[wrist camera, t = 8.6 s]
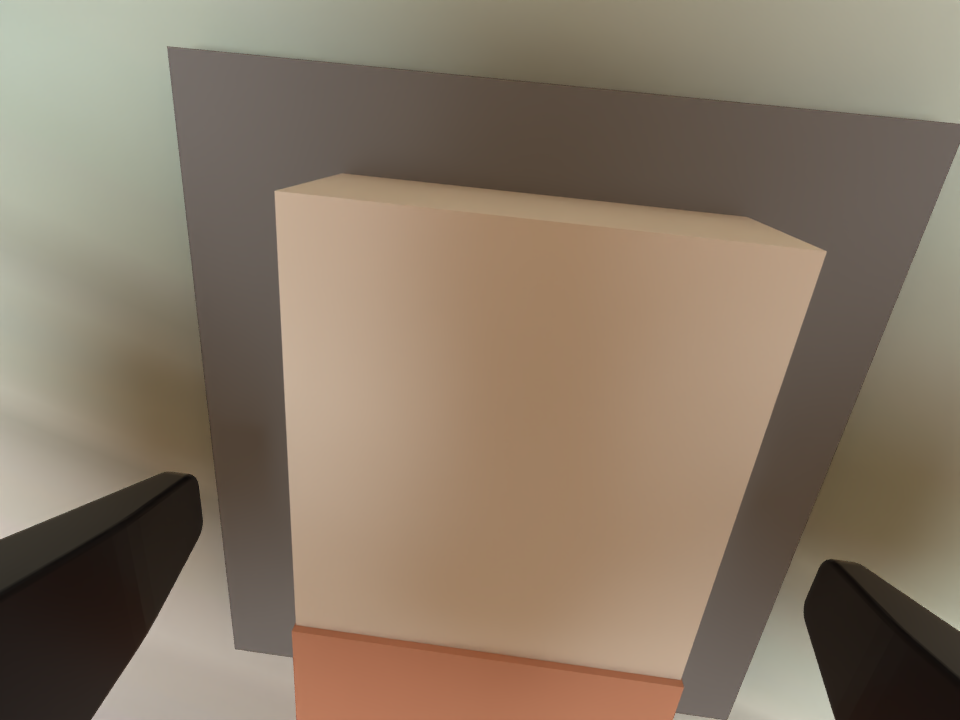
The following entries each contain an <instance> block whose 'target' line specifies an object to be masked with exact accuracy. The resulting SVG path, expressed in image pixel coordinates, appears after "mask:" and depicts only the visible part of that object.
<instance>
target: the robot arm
mask: <svg viewBox="0 0 960 720" xmlns="http://www.w3.org/2000/svg"><path fill="white" fill-rule="evenodd" d="M202 525H203V517H202V509H201V501H200V493H199V485H198V481H197V479H196V478H195V477H194V476H193V475H190V474H184V473H176V472H164V473H161V474H158V475H156V476H153V477H151V478H149V479H146V480H144V481H141V482H139V483H136V484H134V485H132V486H129V487H127V488H124V489H122V490H119V491H117V492H115V493H112V494H110V495H107V496H105V497H102V498H100V499H98V500H95V501H93V502H90V503H88V504H85V505H83V506H81V507H78V508H76V509H73V510H71V511H68V512H66V513H64V514H61V515H59V516H56V517H54V518H51V519H49V520H47V521H44V522H42V523H39V524H37V525H34V526H32V527H30V528H27V529H25V530H22V531H20V532H17V533H15V534H13V535H10V536H8V537H5V538H3V539H0V720H91V719H92V718H93V716H94V715H95V713H96V711H97V710H98V708H99V707H100V705H101V704H102V702H103V701H104V699H105V698H106V696H107V695H108V693H109V692H110V690H111V689H112V687H113V686H114V684H115V683H116V681H117V680H118V678H119V677H120V675H121V674H122V672H123V671H124V669H125V668H126V666H127V665H128V663H129V662H130V660H131V659H132V657H133V655H134V654H135V652H136V651H137V649H138V648H139V646H140V645H141V643H142V641H143V640H144V638H145V637H146V635H147V634H148V632H149V630H150V628H151V626H152V625H153V623H154V621H155V619H156V618H157V616H158V614H159V612H160V610H161V608H162V606H163V604H164V603H165V601H166V599H167V597H168V595H169V593H170V591H171V589H172V587H173V586H174V584H175V582H176V580H177V578H178V576H179V574H180V572H181V570H182V568H183V567H184V565H185V563H186V561H187V559H188V557H189V555H190V553H191V551H192V550H193V548H194V546H195V544H196V542H197V540H198V538H199V536H200V533H201V530H202ZM804 619H805V623H806V626H807V629H808V633H809V636H810V639H811V643H812V646H813V649H814V652H815V656H816V659H817V662H818V665H819V669H820V672H821V675H822V678H823V682H824V685H825V688H826V691H827V695H828V698H829V701H830V704H831V708H832V711H833V714H834V717H835V720H960V631H958V630H957V629H955V628H954V627H952V626H951V625H949V624H948V623H946V622H945V621H943V620H942V619H940V618H939V617H937V616H936V615H935V614H933V613H932V612H930V611H929V610H927V609H926V608H924V607H923V606H921V605H920V604H918V603H917V602H915V601H914V600H912V599H911V598H910V597H908V596H907V595H905V594H904V593H902V592H901V591H899V590H898V589H896V588H895V587H893V586H892V585H890V584H889V583H887V582H886V581H885V580H883V579H882V578H880V577H879V576H877V575H876V574H874V573H873V572H871V571H870V570H868V569H867V568H865V567H864V566H862V565H861V564H858V563H855V562H849V561H841V560H834V559H829V560H826V561H824V562H823V563H822V564H821V566H820V568H819V570H818V572H817V574H816V577H815V579H814V581H813V584H812V586H811V588H810V591H809V593H808V595H807V598H806V600H805V603H804Z"/></svg>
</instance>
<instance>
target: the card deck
mask: <svg viewBox="0 0 960 720" xmlns="http://www.w3.org/2000/svg"><path fill="white" fill-rule="evenodd" d="M274 192H275V213H276V233H277V253H278V273H279V293H280V314H281V334H282V354H283V374H284V394H285V414H286V435H287V455H288V475H289V495H290V515H291V536H292V556H293V576H294V596H295V616H296V623H295V625H294V627H293V630H292V647H293V665H294V684H295V702H296V720H673V718H674V715H675V712H676V709H677V706H678V703H679V700H680V698H681V695H682V692H683V689H684V686H683V682H682V675H683V672H684V669H685V666H686V663H687V660H688V657H689V654H690V651H691V648H692V646H693V643H694V640H695V637H696V634H697V631H698V628H699V625H700V622H701V619H702V616H703V613H704V610H705V607H706V605H707V602H708V599H709V596H710V593H711V590H712V587H713V584H714V581H715V578H716V575H717V572H718V569H719V566H720V564H721V561H722V558H723V555H724V552H725V549H726V546H727V543H728V540H729V537H730V534H731V531H732V528H733V525H734V522H735V520H736V517H737V514H738V511H739V508H740V505H741V502H742V499H743V496H744V493H745V490H746V487H747V484H748V481H749V479H750V476H751V473H752V470H753V467H754V464H755V461H756V458H757V455H758V452H759V449H760V446H761V443H762V440H763V438H764V435H765V432H766V429H767V426H768V423H769V420H770V417H771V414H772V411H773V408H774V405H775V402H776V399H777V396H778V394H779V391H780V388H781V385H782V382H783V379H784V376H785V373H786V370H787V367H788V364H789V361H790V358H791V355H792V353H793V350H794V347H795V344H796V341H797V338H798V335H799V332H800V329H801V326H802V323H803V320H804V317H805V314H806V312H807V309H808V306H809V303H810V300H811V297H812V294H813V291H814V288H815V285H816V282H817V279H818V276H819V273H820V270H821V268H822V265H823V262H824V259H825V256H826V253H827V251H825V250H823V249H820V248H818V247H816V246H813V245H811V244H809V243H806V242H804V241H802V240H799V239H797V238H795V237H792V236H790V235H788V234H786V233H783V232H781V231H779V230H776V229H774V228H772V227H769V226H767V225H765V224H762V223H760V222H758V221H755V220H753V219H751V218H749V217H743V216H734V215H725V214H715V213H706V212H697V211H687V210H678V209H669V208H660V207H650V206H641V205H632V204H622V203H613V202H604V201H595V200H585V199H576V198H567V197H557V196H548V195H539V194H530V193H520V192H511V191H502V190H492V189H483V188H474V187H465V186H455V185H446V184H437V183H427V182H418V181H409V180H400V179H390V178H381V177H372V176H362V175H353V174H344V173H341V174H338V175H334V176H330V177H326V178H322V179H318V180H314V181H311V182H307V183H303V184H299V185H295V186H291V187H287V188H284V189H280V190H276V191H274Z"/></svg>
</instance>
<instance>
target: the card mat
mask: <svg viewBox="0 0 960 720" xmlns="http://www.w3.org/2000/svg"><path fill="white" fill-rule="evenodd" d="M167 49H168V58H169V67H170V76H171V85H172V93H173V102H174V111H175V120H176V129H177V138H178V147H179V156H180V164H181V173H182V182H183V191H184V200H185V209H186V218H187V227H188V236H189V244H190V253H191V262H192V271H193V280H194V289H195V298H196V307H197V315H198V324H199V333H200V342H201V351H202V360H203V369H204V378H205V386H206V395H207V404H208V413H209V422H210V431H211V440H212V449H213V457H214V466H215V475H216V484H217V493H218V502H219V511H220V520H221V528H222V537H223V546H224V555H225V564H226V573H227V582H228V591H229V599H230V608H231V617H232V626H233V635H234V644H235V649H238V650H245V651H252V652H259V653H265V654H272V655H279V656H286V657H293V647H292V630H293V627H294V625H295V623H296V616H295V596H294V576H293V556H292V536H291V515H290V495H289V475H288V455H287V435H286V414H285V394H284V374H283V354H282V334H281V314H280V293H279V273H278V253H277V233H276V213H275V192H274V191H276V190H280V189H284V188H287V187H291V186H295V185H299V184H303V183H307V182H311V181H314V180H318V179H322V178H326V177H330V176H334V175H338V174H341V173H344V174H353V175H362V176H372V177H381V178H390V179H400V180H409V181H418V182H427V183H437V184H446V185H455V186H465V187H474V188H483V189H492V190H502V191H511V192H520V193H530V194H539V195H548V196H557V197H567V198H576V199H585V200H595V201H604V202H613V203H622V204H632V205H641V206H650V207H660V208H669V209H678V210H687V211H697V212H706V213H715V214H725V215H734V216H743V217H749V218H751V219H753V220H755V221H758V222H760V223H762V224H765V225H767V226H769V227H772V228H774V229H776V230H779V231H781V232H783V233H786V234H788V235H790V236H792V237H795V238H797V239H799V240H802V241H804V242H806V243H809V244H811V245H813V246H816V247H818V248H820V249H823V250H825V251H827V253H826V256H825V259H824V262H823V265H822V268H821V270H820V273H819V276H818V279H817V282H816V285H815V288H814V291H813V294H812V297H811V300H810V303H809V306H808V309H807V312H806V314H805V317H804V320H803V323H802V326H801V329H800V332H799V335H798V338H797V341H796V344H795V347H794V350H793V353H792V355H791V358H790V361H789V364H788V367H787V370H786V373H785V376H784V379H783V382H782V385H781V388H780V391H779V394H778V396H777V399H776V402H775V405H774V408H773V411H772V414H771V417H770V420H769V423H768V426H767V429H766V432H765V435H764V438H763V440H762V443H761V446H760V449H759V452H758V455H757V458H756V461H755V464H754V467H753V470H752V473H751V476H750V479H749V481H748V484H747V487H746V490H745V493H744V496H743V499H742V502H741V505H740V508H739V511H738V514H737V517H736V520H735V522H734V525H733V528H732V531H731V534H730V537H729V540H728V543H727V546H726V549H725V552H724V555H723V558H722V561H721V564H720V566H719V569H718V572H717V575H716V578H715V581H714V584H713V587H712V590H711V593H710V596H709V599H708V602H707V605H706V607H705V610H704V613H703V616H702V619H701V622H700V625H699V628H698V631H697V634H696V637H695V640H694V643H693V646H692V648H691V651H690V654H689V657H688V660H687V663H686V666H685V669H684V672H683V675H682V682H683V686H684V689H683V692H682V695H681V698H680V700H679V703H678V706H677V709H676V712H675V713H680V714H687V715H694V716H701V717H708V718H715V719H722V720H727V719H728V717H729V714H730V712H731V709H732V707H733V704H734V702H735V699H736V697H737V694H738V692H739V689H740V687H741V684H742V682H743V679H744V677H745V674H746V672H747V669H748V667H749V665H750V662H751V660H752V657H753V655H754V652H755V650H756V647H757V645H758V642H759V640H760V637H761V635H762V632H763V630H764V627H765V625H766V622H767V620H768V617H769V615H770V612H771V610H772V608H773V605H774V603H775V600H776V598H777V595H778V593H779V590H780V588H781V585H782V583H783V580H784V578H785V575H786V573H787V570H788V568H789V565H790V563H791V560H792V558H793V555H794V553H795V550H796V548H797V546H798V543H799V541H800V538H801V536H802V533H803V531H804V528H805V526H806V523H807V521H808V518H809V516H810V513H811V511H812V508H813V506H814V503H815V501H816V498H817V496H818V493H819V491H820V489H821V486H822V484H823V481H824V479H825V476H826V474H827V471H828V469H829V466H830V464H831V461H832V459H833V456H834V454H835V451H836V449H837V446H838V444H839V441H840V439H841V436H842V434H843V431H844V429H845V427H846V424H847V422H848V419H849V417H850V414H851V412H852V409H853V407H854V404H855V402H856V399H857V397H858V394H859V392H860V389H861V387H862V384H863V382H864V379H865V377H866V374H867V372H868V370H869V367H870V365H871V362H872V360H873V357H874V355H875V352H876V350H877V347H878V345H879V342H880V340H881V337H882V335H883V332H884V330H885V327H886V325H887V322H888V320H889V317H890V315H891V312H892V310H893V308H894V305H895V303H896V300H897V298H898V295H899V293H900V290H901V288H902V285H903V283H904V280H905V278H906V275H907V273H908V270H909V268H910V265H911V263H912V260H913V258H914V255H915V253H916V251H917V248H918V246H919V243H920V241H921V238H922V236H923V233H924V231H925V228H926V226H927V223H928V221H929V218H930V216H931V213H932V211H933V208H934V206H935V203H936V201H937V198H938V196H939V193H940V191H941V189H942V186H943V184H944V181H945V179H946V176H947V174H948V171H949V169H950V166H951V164H952V161H953V159H954V156H955V154H956V151H957V149H958V146H959V144H960V124H954V123H944V122H934V121H924V120H913V119H903V118H893V117H883V116H873V115H862V114H852V113H842V112H832V111H821V110H811V109H801V108H791V107H781V106H770V105H760V104H750V103H740V102H730V101H719V100H709V99H699V98H689V97H678V96H668V95H658V94H648V93H638V92H627V91H617V90H607V89H597V88H587V87H576V86H566V85H556V84H546V83H535V82H525V81H515V80H505V79H495V78H484V77H474V76H464V75H454V74H444V73H433V72H423V71H413V70H403V69H393V68H382V67H372V66H362V65H352V64H341V63H331V62H321V61H311V60H301V59H290V58H280V57H270V56H260V55H250V54H239V53H229V52H219V51H209V50H198V49H188V48H178V47H168V46H167Z"/></svg>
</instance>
